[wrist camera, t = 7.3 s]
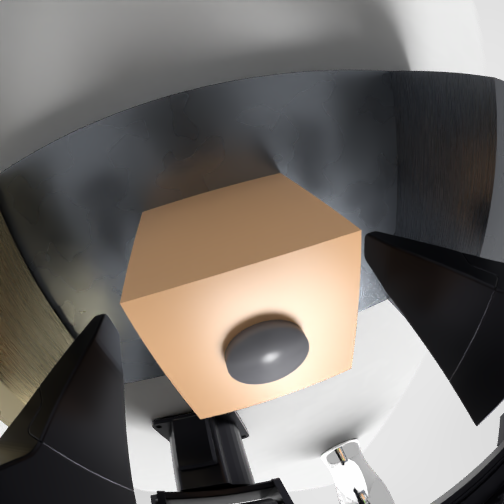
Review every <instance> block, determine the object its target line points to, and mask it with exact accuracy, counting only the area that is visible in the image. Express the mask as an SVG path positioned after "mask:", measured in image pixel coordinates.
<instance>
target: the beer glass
mask: <svg viewBox="0 0 504 504" xmlns="http://www.w3.org/2000/svg"><path fill="white" fill-rule="evenodd" d="M321 458H322V460H323V461H324V463H325V464H326V465H327V467H328V468H329V470H330V472H331V474H332V476H333V479H334V482H335V486H336V491H337V495H338V499H339V503H340V504H394V501H393V499H392V497H391V495H390V492H389V491H388V489H387V487H386V486H385V484H384V483H383V482H382V480H381V479H380V478H379V477H378V475H377V474H376V473H375V472H374V471H373V470H372V468H371V467H370V466H369V465H368V463H367V462H366V460H365V459H364V457H363V455H362V452H361V449H360V445H359V442H358V440H357V439H352V440H348V441H345V442H343V443H341V444H338V445H336V446H334V447H333V448H331V449H329V450H327V451H326V452H325V453H323V454H322V456H321Z"/></svg>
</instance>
